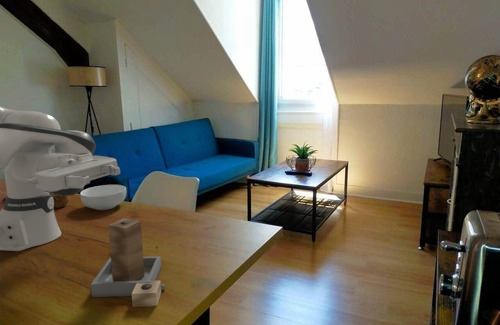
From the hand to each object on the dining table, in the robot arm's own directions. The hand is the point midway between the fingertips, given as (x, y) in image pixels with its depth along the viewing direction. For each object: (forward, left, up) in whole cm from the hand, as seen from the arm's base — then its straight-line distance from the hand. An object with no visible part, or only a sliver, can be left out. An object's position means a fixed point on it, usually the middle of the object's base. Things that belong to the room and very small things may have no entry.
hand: (103, 175), depth 83 cm
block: (+6, -5, -24) cm, 25 cm away
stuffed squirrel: (-40, +55, -25) cm, 73 cm away
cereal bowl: (-19, +53, -25) cm, 62 cm away
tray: (+6, -5, -25) cm, 26 cm away
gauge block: (+12, -13, -25) cm, 30 cm away
